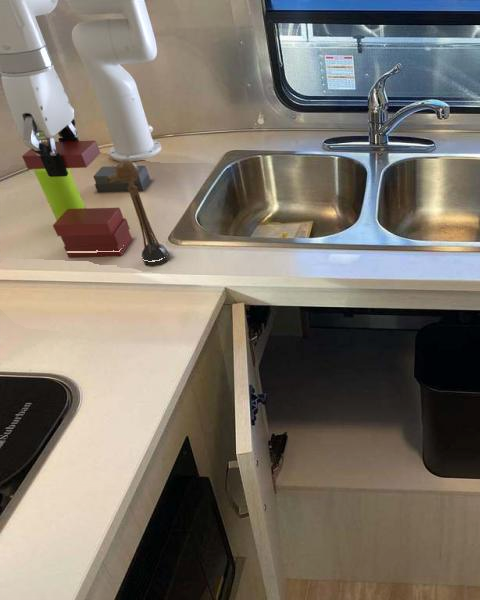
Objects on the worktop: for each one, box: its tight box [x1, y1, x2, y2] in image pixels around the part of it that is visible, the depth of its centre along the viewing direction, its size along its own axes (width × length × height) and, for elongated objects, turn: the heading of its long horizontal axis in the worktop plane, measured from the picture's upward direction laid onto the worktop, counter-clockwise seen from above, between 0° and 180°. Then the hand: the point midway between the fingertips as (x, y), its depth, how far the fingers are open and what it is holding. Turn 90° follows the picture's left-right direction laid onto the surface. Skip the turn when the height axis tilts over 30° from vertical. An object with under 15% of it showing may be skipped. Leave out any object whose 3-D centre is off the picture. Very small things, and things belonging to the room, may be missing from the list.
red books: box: [52, 207, 133, 258], centre depth 106 cm, size 10×6×7 cm, turn 92°
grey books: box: [93, 165, 151, 193], centre depth 128 cm, size 10×5×4 cm, turn 92°
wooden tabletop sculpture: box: [106, 160, 171, 268], centre depth 99 cm, size 6×5×20 cm
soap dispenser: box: [33, 132, 86, 221], centre depth 110 cm, size 6×7×20 cm
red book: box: [21, 140, 101, 170], centre depth 96 cm, size 10×6×2 cm, turn 92°
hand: (67, 166), depth 98 cm, fingers closed on red book, 6 cm apart
